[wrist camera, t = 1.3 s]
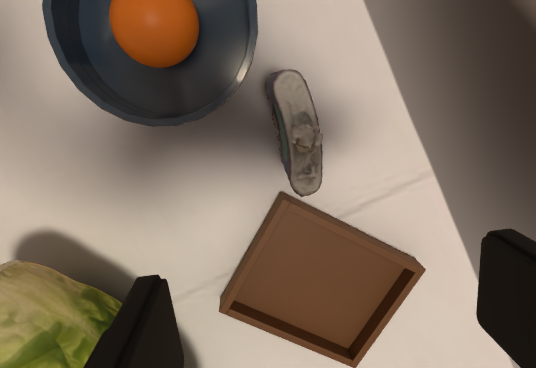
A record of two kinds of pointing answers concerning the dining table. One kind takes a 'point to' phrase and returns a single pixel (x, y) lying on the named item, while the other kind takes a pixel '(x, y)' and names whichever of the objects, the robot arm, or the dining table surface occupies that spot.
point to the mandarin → (155, 30)
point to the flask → (296, 130)
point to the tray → (319, 282)
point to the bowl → (150, 78)
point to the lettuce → (49, 317)
